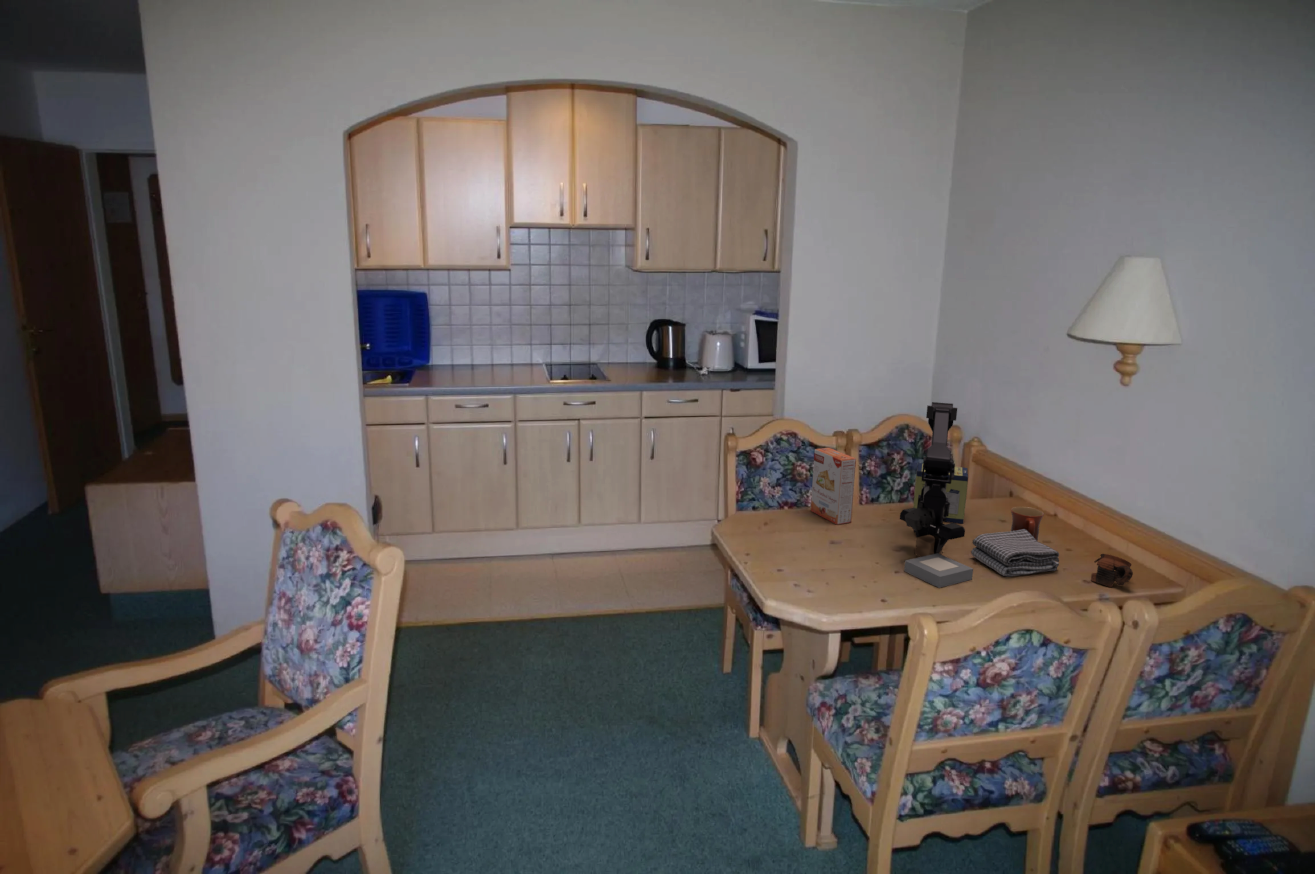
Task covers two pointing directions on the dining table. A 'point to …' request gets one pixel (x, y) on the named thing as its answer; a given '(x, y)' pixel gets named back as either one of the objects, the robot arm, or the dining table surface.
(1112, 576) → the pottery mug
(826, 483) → the cracker box
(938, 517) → the robot arm
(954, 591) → the dining table surface
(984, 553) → the towel
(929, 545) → the walnut cube
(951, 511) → the protein box
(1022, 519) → the mug
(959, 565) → the pedestal
